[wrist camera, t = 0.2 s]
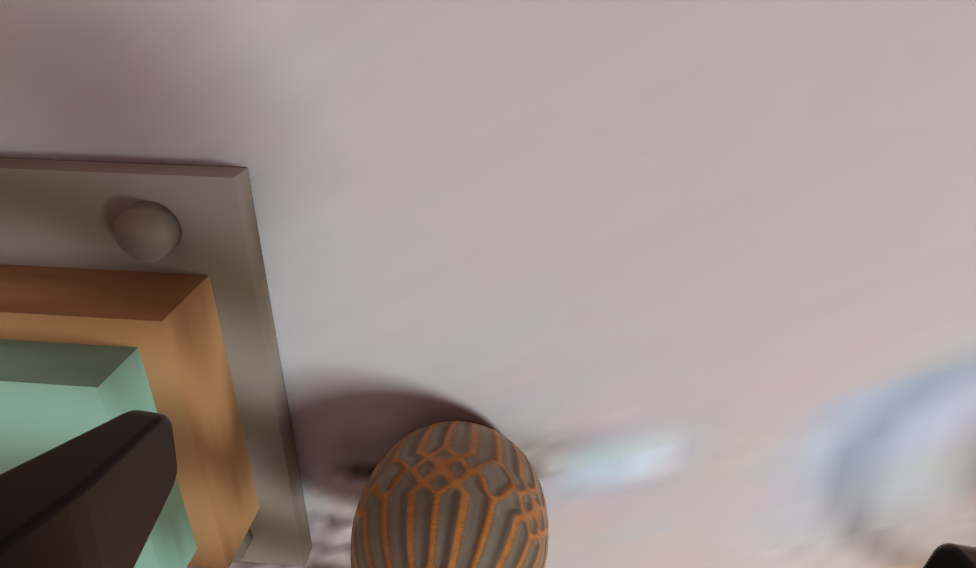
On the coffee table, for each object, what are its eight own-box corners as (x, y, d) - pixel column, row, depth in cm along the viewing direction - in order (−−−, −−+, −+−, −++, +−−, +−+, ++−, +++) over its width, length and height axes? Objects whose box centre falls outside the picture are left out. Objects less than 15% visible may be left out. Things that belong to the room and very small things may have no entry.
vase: (547, 524, 27) (544, 752, 20) (388, 515, 28) (325, 733, 20) (551, 394, 24) (549, 607, 17) (371, 388, 25) (289, 590, 17)
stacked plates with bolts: (312, 547, 29) (260, 680, 24) (23, 523, 30) (-88, 646, 25) (246, 167, 21) (144, 245, 16) (-152, 151, 22) (-374, 219, 17)
